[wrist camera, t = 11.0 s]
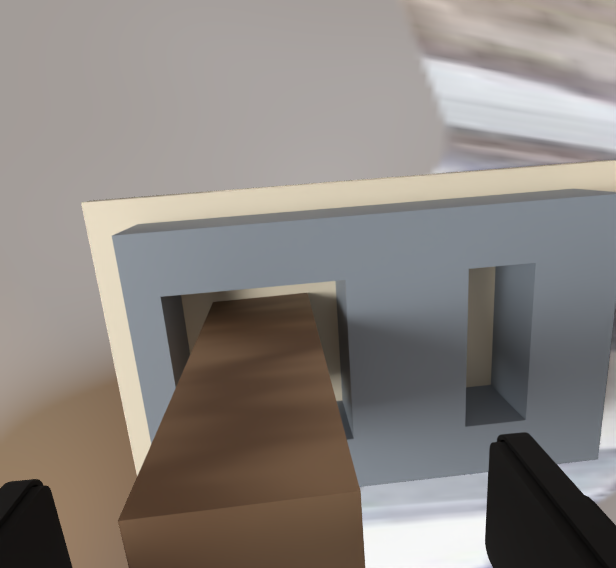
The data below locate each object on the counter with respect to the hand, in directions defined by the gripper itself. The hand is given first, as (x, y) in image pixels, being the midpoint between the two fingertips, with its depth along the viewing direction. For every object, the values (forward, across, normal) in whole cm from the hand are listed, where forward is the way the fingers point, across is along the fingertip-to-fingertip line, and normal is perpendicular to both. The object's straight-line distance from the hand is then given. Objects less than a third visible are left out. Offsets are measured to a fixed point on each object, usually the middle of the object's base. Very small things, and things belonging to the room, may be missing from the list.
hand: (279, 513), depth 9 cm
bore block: (+11, -4, 0) cm, 12 cm away
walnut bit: (+10, +1, 0) cm, 10 cm away
